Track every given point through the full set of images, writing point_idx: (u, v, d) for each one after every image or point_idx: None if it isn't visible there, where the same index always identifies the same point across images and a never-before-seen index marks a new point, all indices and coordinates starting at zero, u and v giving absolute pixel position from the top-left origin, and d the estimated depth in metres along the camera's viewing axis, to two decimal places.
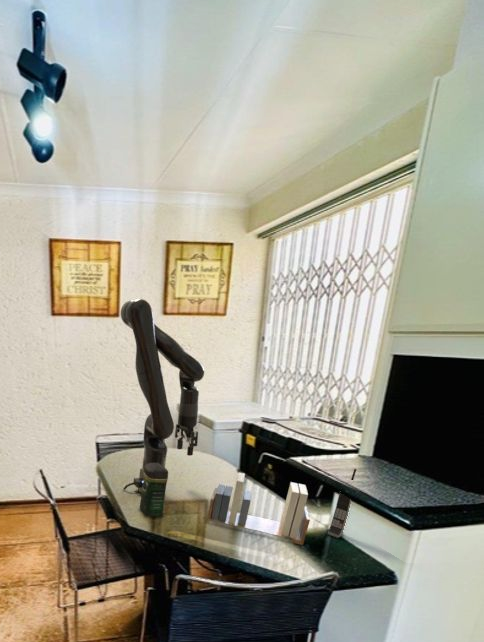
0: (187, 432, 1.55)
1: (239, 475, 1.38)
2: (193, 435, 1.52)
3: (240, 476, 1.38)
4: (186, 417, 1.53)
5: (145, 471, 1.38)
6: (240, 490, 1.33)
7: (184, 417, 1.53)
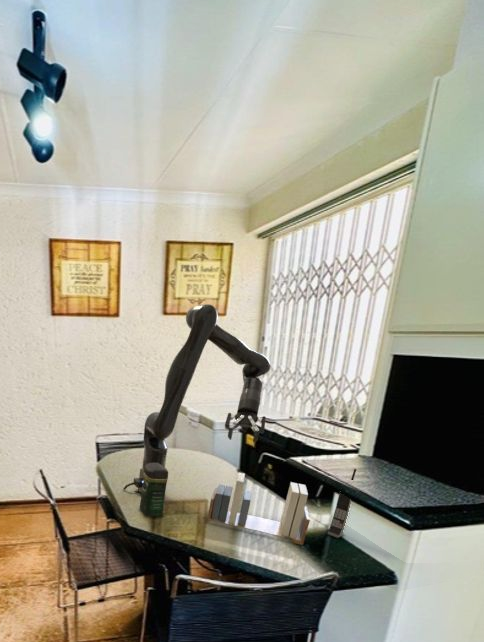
0: (253, 418, 1.46)
1: (239, 475, 1.38)
2: None
3: (240, 476, 1.38)
4: (257, 402, 1.47)
5: (145, 471, 1.38)
6: (240, 490, 1.33)
7: (255, 401, 1.47)
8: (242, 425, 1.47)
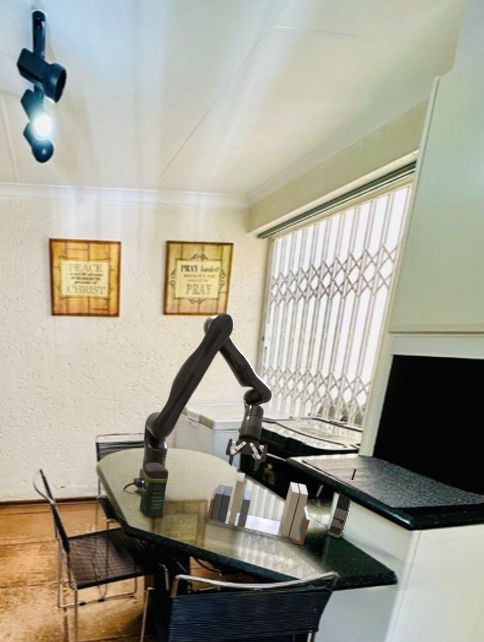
0: (255, 445, 1.43)
1: (239, 475, 1.38)
2: None
3: (240, 476, 1.38)
4: (259, 430, 1.44)
5: (145, 471, 1.38)
6: (240, 490, 1.33)
7: (257, 429, 1.44)
8: (243, 452, 1.44)
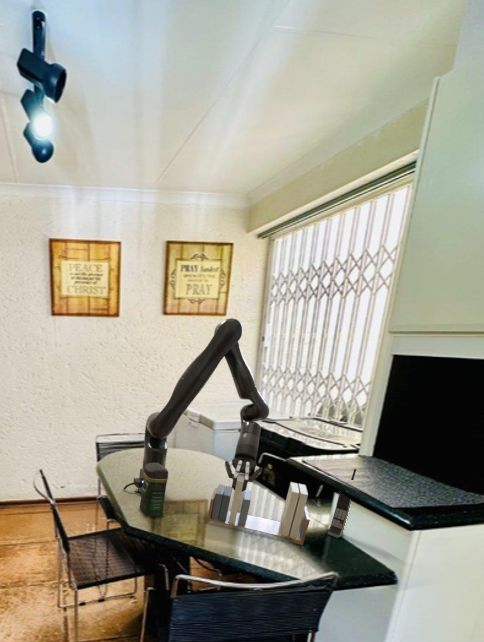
0: (252, 464, 1.38)
1: (239, 475, 1.38)
2: (260, 471, 1.37)
3: (240, 476, 1.38)
4: (255, 448, 1.40)
5: (145, 471, 1.38)
6: (240, 490, 1.33)
7: (254, 447, 1.40)
8: (239, 471, 1.39)
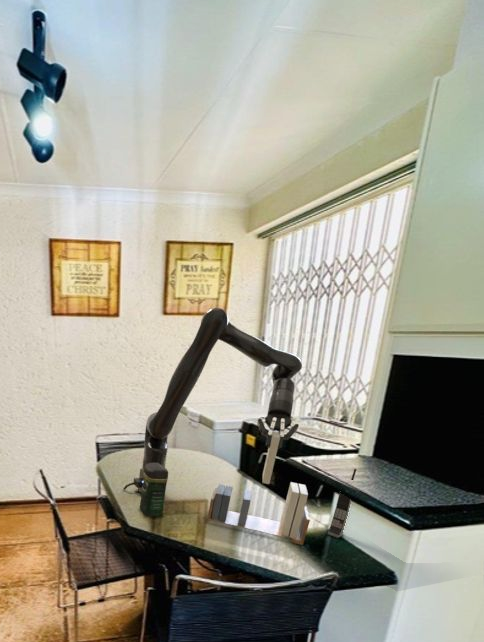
0: (287, 421, 1.30)
1: (273, 432, 1.30)
2: (296, 428, 1.29)
3: (275, 433, 1.30)
4: (290, 404, 1.32)
5: (145, 471, 1.38)
6: (276, 447, 1.25)
7: (289, 403, 1.32)
8: (274, 428, 1.31)
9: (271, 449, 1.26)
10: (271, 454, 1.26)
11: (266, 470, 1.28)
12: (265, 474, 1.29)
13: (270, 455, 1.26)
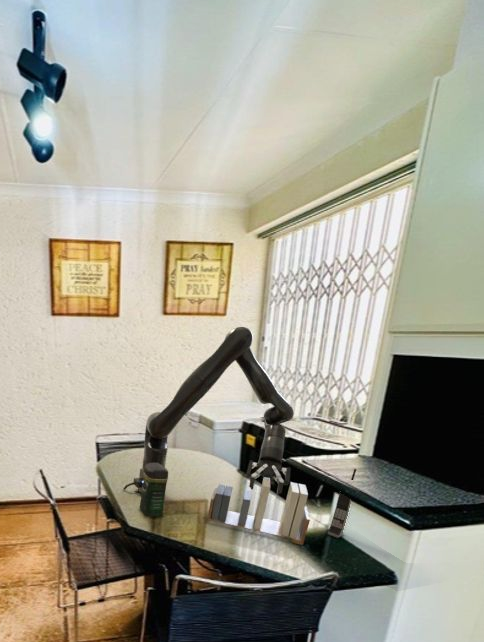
0: (277, 468, 1.36)
1: (264, 480, 1.36)
2: None
3: (266, 480, 1.35)
4: (281, 451, 1.37)
5: (145, 471, 1.38)
6: (266, 495, 1.31)
7: (280, 450, 1.37)
8: (265, 475, 1.36)
9: (262, 497, 1.31)
10: (262, 502, 1.32)
11: (257, 517, 1.34)
12: (256, 520, 1.34)
13: (261, 503, 1.32)
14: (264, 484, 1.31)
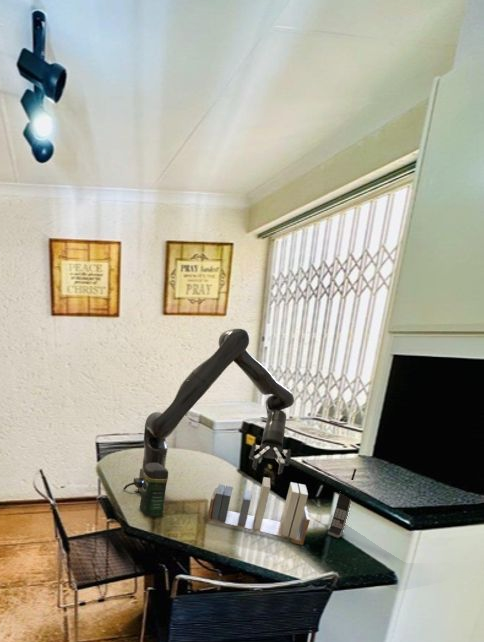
0: (279, 450, 1.46)
1: (264, 480, 1.36)
2: (290, 452, 1.45)
3: (266, 480, 1.35)
4: (282, 434, 1.48)
5: (145, 471, 1.38)
6: (266, 495, 1.31)
7: (281, 433, 1.47)
8: (267, 456, 1.47)
9: (262, 497, 1.31)
10: (262, 502, 1.32)
11: (257, 517, 1.34)
12: (256, 520, 1.34)
13: (261, 503, 1.32)
14: (264, 484, 1.31)
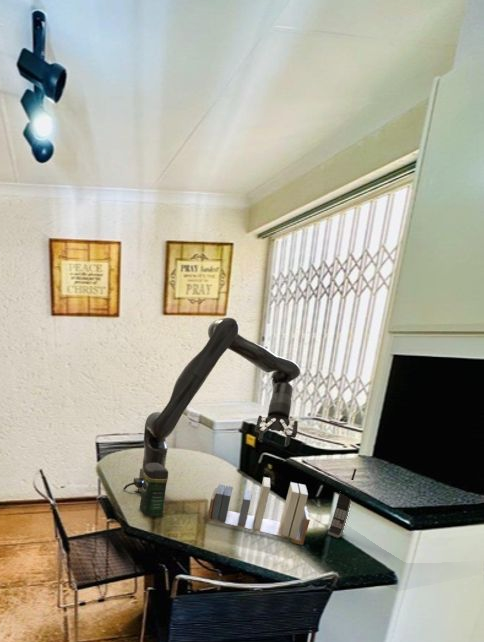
0: (285, 422, 1.43)
1: (264, 480, 1.36)
2: None
3: (266, 480, 1.35)
4: (288, 406, 1.44)
5: (145, 471, 1.38)
6: (266, 495, 1.31)
7: (287, 405, 1.44)
8: (273, 428, 1.43)
9: (262, 497, 1.31)
10: (262, 502, 1.32)
11: (257, 517, 1.34)
12: (256, 520, 1.34)
13: (261, 503, 1.32)
14: (264, 484, 1.31)
